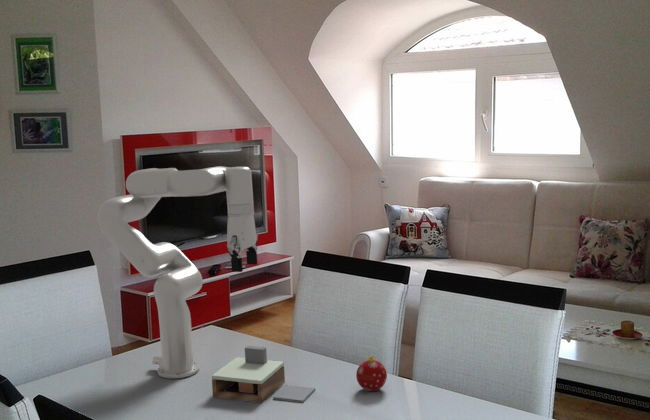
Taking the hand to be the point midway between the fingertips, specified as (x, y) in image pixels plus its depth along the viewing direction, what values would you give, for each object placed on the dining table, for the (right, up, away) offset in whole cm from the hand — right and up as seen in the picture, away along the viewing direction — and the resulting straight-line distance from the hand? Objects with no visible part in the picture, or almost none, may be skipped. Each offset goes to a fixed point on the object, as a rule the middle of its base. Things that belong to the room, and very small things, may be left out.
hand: (244, 267), depth 208 cm
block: (+2, -35, -3) cm, 35 cm away
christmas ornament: (+37, -34, -6) cm, 51 cm away
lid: (+1, -30, -3) cm, 30 cm away
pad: (+15, -35, -7) cm, 39 cm away
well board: (+2, -35, -3) cm, 35 cm away
